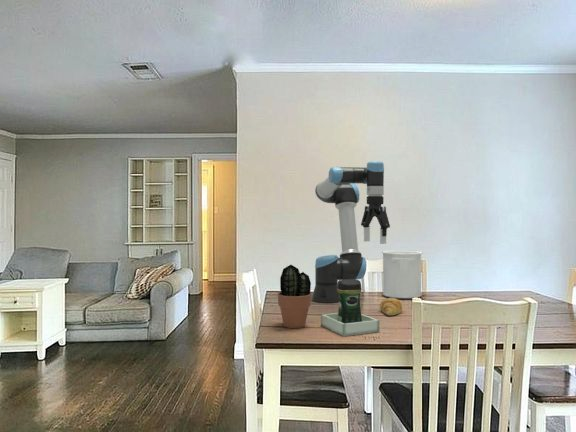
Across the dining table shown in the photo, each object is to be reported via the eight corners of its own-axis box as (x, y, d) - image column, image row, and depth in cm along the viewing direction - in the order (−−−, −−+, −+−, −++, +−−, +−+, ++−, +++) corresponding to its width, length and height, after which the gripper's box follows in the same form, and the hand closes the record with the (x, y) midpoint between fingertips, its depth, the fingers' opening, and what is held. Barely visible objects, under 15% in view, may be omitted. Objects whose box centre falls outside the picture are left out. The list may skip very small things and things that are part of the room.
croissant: (395, 325, 207) (404, 310, 206) (375, 313, 209) (383, 298, 208) (398, 314, 227) (406, 300, 226) (379, 303, 230) (387, 289, 229)
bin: (321, 325, 192) (321, 314, 192) (354, 321, 199) (354, 311, 199) (343, 336, 176) (343, 324, 176) (379, 331, 182) (379, 320, 182)
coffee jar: (358, 323, 192) (358, 277, 192) (364, 328, 184) (364, 280, 184) (335, 324, 191) (335, 278, 190) (340, 329, 183) (340, 281, 183)
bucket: (380, 292, 272) (380, 249, 271) (418, 293, 269) (419, 250, 268) (383, 300, 246) (383, 253, 246) (425, 301, 243) (425, 254, 243)
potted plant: (300, 331, 183) (300, 267, 183) (271, 326, 190) (271, 265, 190) (317, 324, 195) (317, 263, 194) (289, 320, 202) (289, 262, 202)
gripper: (353, 196, 223) (353, 240, 224) (383, 195, 200) (383, 245, 201) (367, 196, 226) (367, 240, 227) (398, 195, 203) (397, 244, 203)
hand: (374, 242), depth 214 cm, fingers open, 13 cm apart
